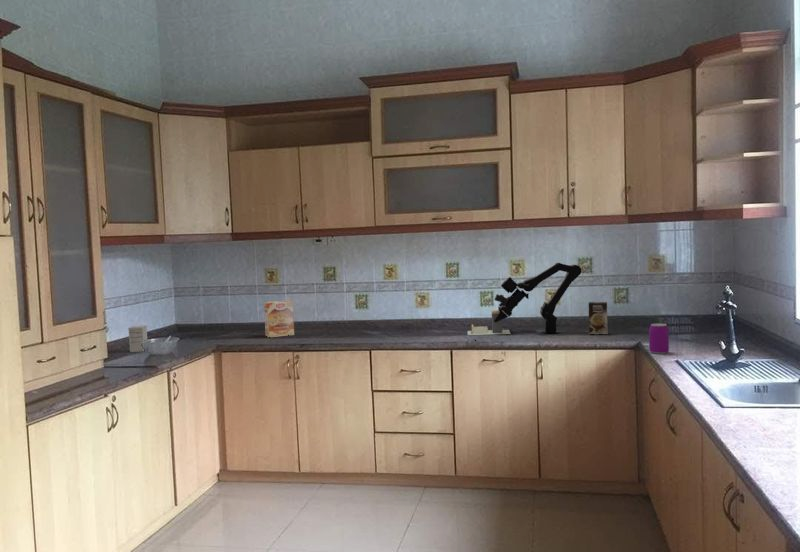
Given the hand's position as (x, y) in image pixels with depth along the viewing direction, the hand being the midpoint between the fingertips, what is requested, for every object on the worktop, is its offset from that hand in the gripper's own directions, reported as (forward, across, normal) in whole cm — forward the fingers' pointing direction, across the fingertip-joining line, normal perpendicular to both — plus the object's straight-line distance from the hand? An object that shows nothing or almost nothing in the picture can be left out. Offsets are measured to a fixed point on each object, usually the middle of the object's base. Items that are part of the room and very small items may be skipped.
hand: (494, 320), depth 361 cm
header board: (+7, 0, +3) cm, 8 cm away
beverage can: (-42, +63, +52) cm, 92 cm away
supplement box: (+135, +21, -124) cm, 185 cm away
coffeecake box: (+90, -18, -79) cm, 121 cm away
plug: (+3, 0, +5) cm, 6 cm away
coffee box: (-31, +8, +42) cm, 53 cm away
